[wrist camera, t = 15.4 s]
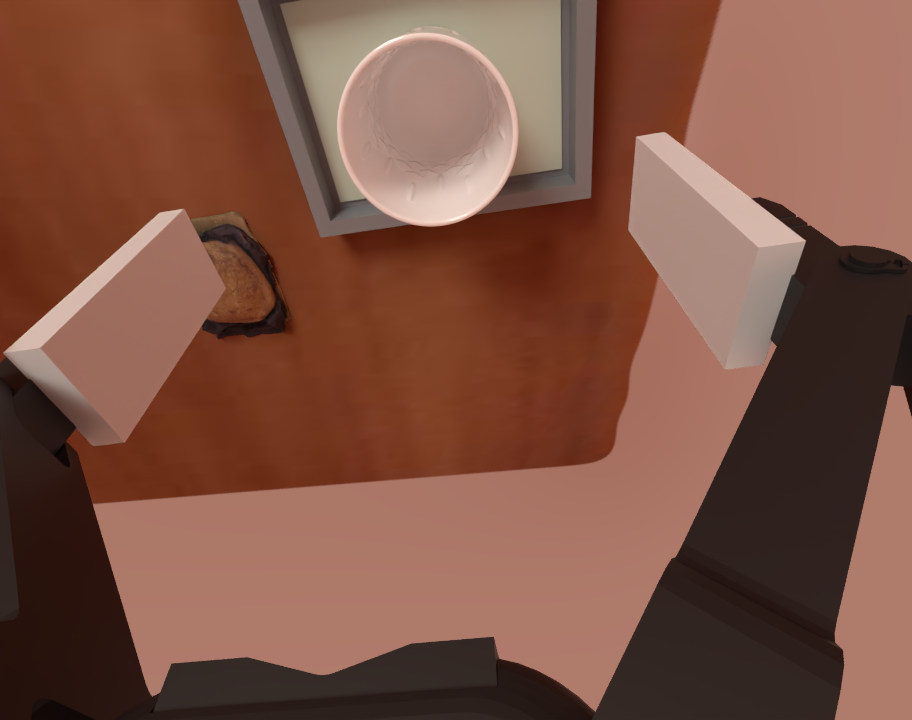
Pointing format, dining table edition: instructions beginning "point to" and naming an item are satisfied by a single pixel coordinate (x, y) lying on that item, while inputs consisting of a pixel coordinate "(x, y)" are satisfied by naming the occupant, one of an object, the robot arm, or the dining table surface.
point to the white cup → (428, 127)
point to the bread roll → (241, 279)
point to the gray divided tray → (482, 22)
